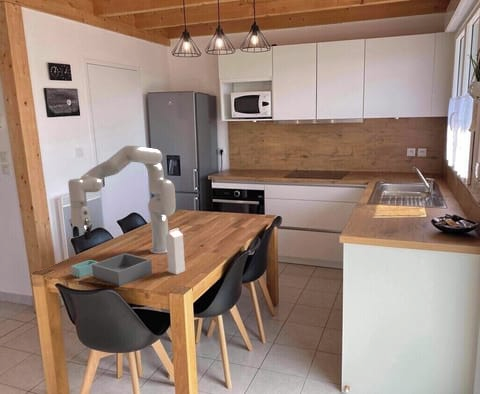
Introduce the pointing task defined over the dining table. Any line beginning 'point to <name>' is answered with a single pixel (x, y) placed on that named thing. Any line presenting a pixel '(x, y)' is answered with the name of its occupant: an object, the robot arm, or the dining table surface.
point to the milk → (175, 251)
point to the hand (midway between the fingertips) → (82, 237)
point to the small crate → (83, 268)
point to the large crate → (122, 269)
